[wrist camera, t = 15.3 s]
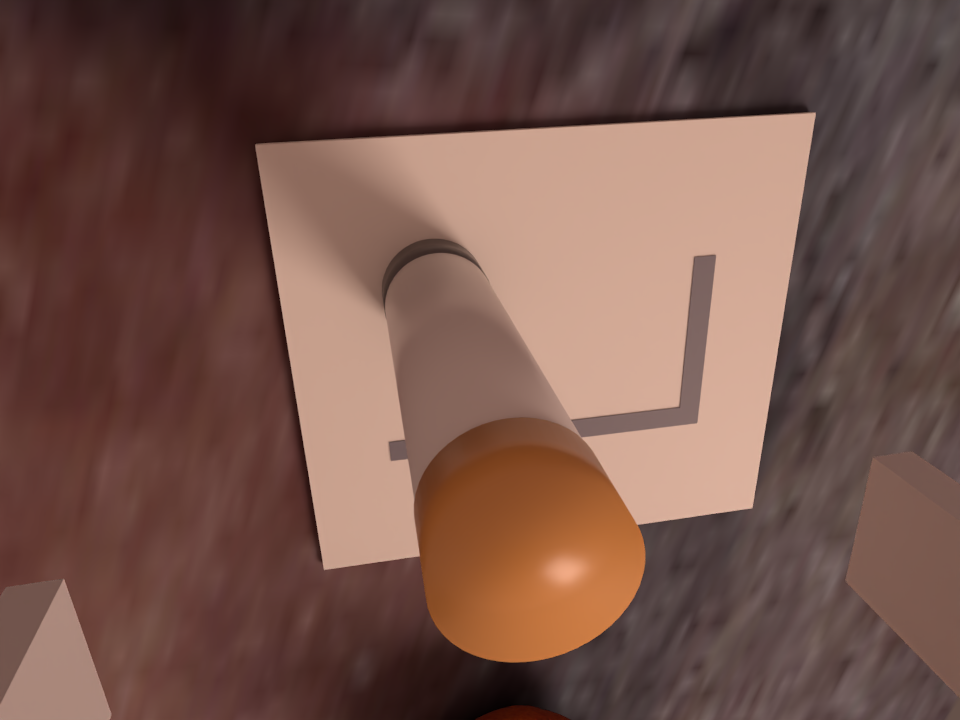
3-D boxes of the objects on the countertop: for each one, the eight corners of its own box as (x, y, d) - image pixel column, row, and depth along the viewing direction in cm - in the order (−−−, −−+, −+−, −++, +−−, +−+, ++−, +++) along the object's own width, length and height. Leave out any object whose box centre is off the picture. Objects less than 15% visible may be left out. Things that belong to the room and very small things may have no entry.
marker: (385, 342, 24) (433, 678, 11) (376, 242, 22) (417, 501, 10) (486, 332, 24) (638, 643, 12) (483, 233, 23) (653, 470, 10)
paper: (324, 564, 28) (323, 570, 27) (256, 143, 21) (254, 145, 21) (748, 503, 30) (752, 508, 30) (810, 112, 24) (816, 113, 23)
